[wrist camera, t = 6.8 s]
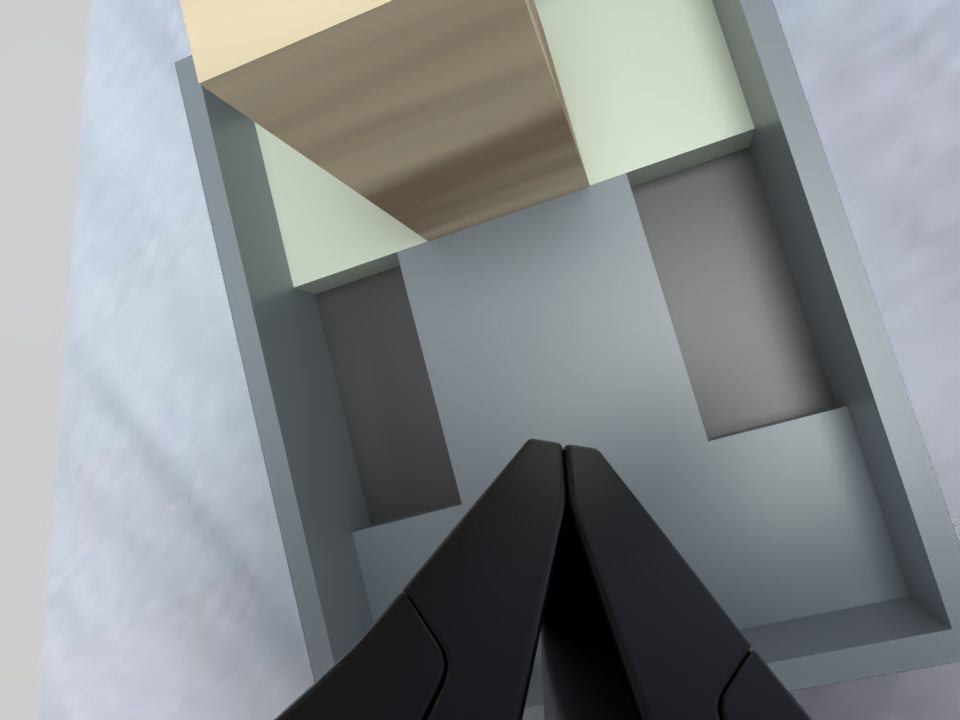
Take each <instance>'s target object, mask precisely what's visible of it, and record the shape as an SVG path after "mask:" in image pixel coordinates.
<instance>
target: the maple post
mask: <svg viewBox="0 0 960 720" xmlns="http://www.w3.org/2000/svg"><path fill="white" fill-rule="evenodd" d="M180 4H181V9H182V13H183V17H184V22H185V26H186V30H187V35H188V39H189V44H190V48H191V52H192V57H193V61H194V65H195V70H196V74H197V78H198V83H199V84H200V85H201V86H203V87H204V88H206V89H207V90H209V91H210V92H212V93H213V94H215V95H216V96H217V97H219V98H220V99H222V100H223V101H225V102H226V103H228V104H229V105H231V106H232V107H233V108H235V109H236V110H238V111H239V112H241V113H242V114H244V115H245V116H247V117H248V118H249V119H251V120H252V121H254V122H255V123H257V124H258V125H260V126H261V127H263V128H264V129H265V130H267V131H268V132H270V133H271V134H273V135H274V136H276V137H277V138H279V139H280V140H281V141H283V142H284V143H286V144H287V145H289V146H290V147H292V148H293V149H295V150H296V151H298V152H299V153H300V154H302V155H303V156H305V157H306V158H308V159H309V160H311V161H312V162H314V163H315V164H316V165H318V166H319V167H321V168H322V169H324V170H325V171H327V172H328V173H330V174H331V175H332V176H334V177H335V178H337V179H338V180H340V181H341V182H343V183H344V184H346V185H347V186H348V187H350V188H351V189H353V190H354V191H356V192H357V193H359V194H360V195H362V196H363V197H364V198H366V199H367V200H369V201H370V202H372V203H373V204H375V205H376V206H378V207H379V208H380V209H382V210H383V211H385V212H386V213H388V214H389V215H391V216H392V217H394V218H395V219H396V220H398V221H399V222H401V223H402V224H404V225H405V226H407V227H408V228H410V229H411V230H412V231H414V232H415V233H417V234H418V235H420V236H421V237H423V238H424V239H426V240H427V241H429V242H430V241H432V240H435V239H438V238H441V237H444V236H447V235H450V234H453V233H456V232H459V231H461V230H464V229H467V228H470V227H473V226H476V225H479V224H482V223H485V222H488V221H490V220H493V219H496V218H499V217H502V216H505V215H508V214H511V213H514V212H517V211H519V210H522V209H525V208H528V207H531V206H534V205H537V204H540V203H543V202H546V201H548V200H551V199H554V198H557V197H560V196H563V195H566V194H569V193H572V192H575V191H577V190H580V189H583V188H586V187H589V186H590V184H589V180H588V177H587V174H586V170H585V167H584V164H583V160H582V157H581V154H580V150H579V147H578V144H577V140H576V137H575V134H574V130H573V127H572V124H571V120H570V117H569V113H568V110H567V107H566V103H565V100H564V97H563V93H562V90H561V87H560V83H559V80H558V77H557V73H556V70H555V67H554V63H553V60H552V56H551V53H550V50H549V46H548V43H547V40H546V36H545V33H544V30H543V26H542V23H541V20H540V17H539V14H538V11H537V8H536V5H535V2H534V0H180Z"/></svg>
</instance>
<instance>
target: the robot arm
mask: <svg viewBox="0 0 960 720" xmlns="http://www.w3.org/2000/svg"><path fill="white" fill-rule="evenodd" d="M540 632H541V656H542V677H543V698H544V719H545V720H812V719H811V717H810V716H809V715H808V714H807V712H806V711H805V710H804V709H803V708H802V706H801V705H800V704H799V703H798V702H797V700H796V699H795V698H794V697H793V696H792V694H791V693H790V692H789V691H788V689H787V688H786V687H785V686H784V685H783V683H782V682H781V681H780V680H779V678H778V677H777V676H776V675H775V673H774V672H773V671H772V670H771V668H770V667H769V666H768V664H767V663H766V662H765V661H764V659H763V658H762V657H761V656H760V654H759V653H758V652H757V651H754V650H753V651H751V650H752V645H751V643H750V642H749V641H748V639H747V638H746V637H745V636H744V634H743V633H742V632H741V631H740V629H739V628H738V627H737V625H736V624H735V623H734V622H733V620H732V619H731V618H730V616H729V615H728V614H727V613H726V611H725V610H724V609H723V608H722V606H721V605H720V604H719V602H718V601H717V600H716V599H715V597H714V596H713V595H712V594H711V592H710V591H709V590H708V588H707V587H706V586H705V585H704V583H703V582H702V581H701V580H700V578H699V577H698V576H697V574H696V573H695V572H694V571H693V569H692V568H691V567H690V566H689V564H688V563H687V562H686V560H685V559H684V558H683V557H682V555H681V554H680V553H679V551H678V550H677V549H676V548H675V546H674V545H673V544H672V543H671V541H670V540H669V539H668V537H667V536H666V535H665V534H664V532H663V531H662V530H661V529H660V527H659V526H658V525H657V523H656V522H655V521H654V520H653V518H652V517H651V516H650V515H649V513H648V512H647V511H646V509H645V508H644V507H643V506H642V504H641V503H640V502H639V500H638V499H637V498H636V497H635V495H634V494H633V493H632V492H631V490H630V489H629V488H628V486H627V485H626V484H625V483H624V481H623V480H622V479H621V478H620V476H619V475H618V474H617V472H616V471H615V470H614V469H613V467H612V466H611V465H610V464H609V462H608V461H607V460H606V458H605V457H604V456H603V455H602V453H601V452H600V451H599V450H597V449H595V448H590V447H584V446H577V445H571V444H569V445H565V446H564V448H563V447H562V445H561V444H560V443H557V442H551V441H545V440H539V439H529V440H528V441H526V442H525V444H524V445H523V446H522V447H521V448H520V450H519V451H518V452H517V453H516V454H515V456H514V457H513V458H512V459H511V460H510V462H509V463H508V464H507V465H506V466H505V468H504V469H503V470H502V471H501V472H500V474H499V475H498V476H497V477H496V478H495V480H494V481H493V482H492V483H491V484H490V486H489V487H488V488H487V489H486V490H485V491H484V493H483V494H482V495H481V496H480V497H479V499H478V500H477V501H476V502H475V503H474V505H473V506H472V507H471V508H470V509H469V511H468V512H467V513H466V514H465V515H464V517H463V518H462V519H461V520H460V521H459V523H458V524H457V525H456V526H455V527H454V529H453V530H452V531H451V532H450V533H449V535H448V536H447V537H446V538H445V539H444V540H443V542H442V543H441V544H440V545H439V546H438V548H437V549H436V550H435V551H434V552H433V554H432V555H431V556H430V557H429V558H428V560H427V561H426V562H425V563H424V564H423V566H422V567H421V568H420V569H419V570H418V572H417V573H416V574H415V575H414V576H413V578H412V579H411V580H410V581H409V582H408V584H407V585H406V586H405V587H404V588H403V590H402V593H399V594H398V595H397V596H396V597H395V599H394V600H393V601H392V602H391V603H390V605H389V606H388V607H387V608H386V609H385V610H384V612H383V613H382V614H381V615H380V616H379V618H378V619H377V620H376V621H375V622H374V623H373V624H372V625H371V626H370V627H369V629H368V630H367V631H366V632H365V633H364V634H363V635H362V636H361V637H360V639H359V640H358V641H357V642H356V643H355V644H354V645H353V646H352V647H351V648H350V650H348V651H347V652H346V653H345V654H344V655H343V656H342V657H341V658H340V659H339V660H338V661H337V662H336V663H335V664H334V665H333V666H332V667H331V668H330V669H329V670H328V671H327V672H326V673H324V674H323V675H322V676H321V677H320V678H319V679H318V680H317V681H316V682H315V683H314V684H313V685H312V686H311V687H310V688H309V689H308V690H306V691H305V692H304V693H303V694H302V695H301V696H300V697H299V698H298V699H296V700H295V701H294V702H293V703H292V704H291V705H290V706H289V707H288V708H286V709H285V710H284V711H283V712H282V713H281V714H280V715H279V716H278V717H277V718H275V719H274V720H522V719H523V714H524V709H525V704H526V699H527V695H528V690H529V685H530V680H531V675H532V671H533V666H534V661H535V656H536V651H537V647H538V642H539V637H540Z"/></svg>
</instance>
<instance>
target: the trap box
mask: <svg viewBox="0 0 960 720" xmlns="http://www.w3.org/2000/svg"><path fill="white" fill-rule="evenodd" d="M534 2H535V5H536V8H537V11H538V14H539V17H540V20H541V23H542V26H543V30H544V33H545V36H546V40H547V43H548V46H549V50H550V53H551V56H552V60H553V63H554V67H555V70H556V73H557V77H558V80H559V83H560V87H561V90H562V93H563V97H564V100H565V103H566V107H567V110H568V113H569V117H570V120H571V124H572V127H573V130H574V134H575V137H576V140H577V144H578V147H579V150H580V154H581V157H582V160H583V164H584V167H585V170H586V174H587V177H588V180H589V184H590V186H589V187H586V188H583V189H580V190H577V191H575V192H572V193H569V194H566V195H563V196H560V197H557V198H554V199H551V200H548V201H546V202H543V203H540V204H537V205H534V206H531V207H528V208H525V209H522V210H519V211H517V212H514V213H511V214H508V215H505V216H502V217H499V218H496V219H493V220H490V221H488V222H485V223H482V224H479V225H476V226H473V227H470V228H467V229H464V230H461V231H459V232H456V233H453V234H450V235H447V236H444V237H441V238H438V239H435V240H432V241H430V242H429V241H427V240H426V239H424V238H423V237H421V236H420V235H418V234H417V233H415V232H414V231H412V230H411V229H410V228H408V227H407V226H405V225H404V224H402V223H401V222H399V221H398V220H396V219H395V218H394V217H392V216H391V215H389V214H388V213H386V212H385V211H383V210H382V209H380V208H379V207H378V206H376V205H375V204H373V203H372V202H370V201H369V200H367V199H366V198H364V197H363V196H362V195H360V194H359V193H357V192H356V191H354V190H353V189H351V188H350V187H348V186H347V185H346V184H344V183H343V182H341V181H340V180H338V179H337V178H335V177H334V176H332V175H331V174H330V173H328V172H327V171H325V170H324V169H322V168H321V167H319V166H318V165H316V164H315V163H314V162H312V161H311V160H309V159H308V158H306V157H305V156H303V155H302V154H300V153H299V152H298V151H296V150H295V149H293V148H292V147H290V146H289V145H287V144H286V143H284V142H283V141H281V140H280V139H279V138H277V137H276V136H274V135H273V134H271V133H270V132H268V131H267V130H265V129H264V128H263V127H261V126H260V125H258V124H257V123H255V122H254V121H252V120H251V119H249V118H248V117H247V116H245V115H244V114H242V113H241V112H239V111H238V110H236V109H235V108H233V107H232V106H231V105H229V104H228V103H226V102H225V101H223V100H222V99H220V98H219V97H217V96H216V95H215V94H213V93H212V92H210V91H209V90H207V89H206V88H204V87H203V86H201V85H200V84H199V83H198V78H197V74H196V70H195V65H194V61H193V57H192V55H191V56H189V57H186V58H184V59H182V60H180V61H177V62H175V67H176V71H177V75H178V80H179V84H180V89H181V93H182V98H183V102H184V106H185V111H186V115H187V120H188V124H189V129H190V133H191V137H192V142H193V146H194V151H195V155H196V160H197V164H198V168H199V173H200V177H201V182H202V186H203V190H204V195H205V199H206V204H207V208H208V213H209V217H210V221H211V226H212V230H213V235H214V239H215V244H216V248H217V252H218V257H219V261H220V266H221V270H222V275H223V279H224V283H225V288H226V292H227V297H228V301H229V306H230V310H231V314H232V319H233V323H234V328H235V332H236V337H237V341H238V345H239V350H240V354H241V359H242V363H243V368H244V372H245V376H246V381H247V385H248V390H249V394H250V399H251V403H252V407H253V412H254V416H255V421H256V425H257V430H258V434H259V438H260V443H261V447H262V452H263V456H264V461H265V465H266V469H267V474H268V478H269V483H270V487H271V492H272V496H273V500H274V505H275V509H276V514H277V518H278V523H279V527H280V531H281V536H282V540H283V545H284V549H285V553H286V558H287V562H288V567H289V571H290V576H291V580H292V584H293V589H294V593H295V598H296V602H297V607H298V611H299V615H300V620H301V624H302V629H303V633H304V638H305V642H306V646H307V651H308V655H309V660H310V664H311V669H312V673H313V677H314V682H316V681H317V680H318V679H319V678H320V677H321V676H322V675H323V674H324V673H326V672H327V671H328V670H329V669H330V668H331V667H332V666H333V665H334V664H335V663H336V662H337V661H338V660H339V659H340V658H341V657H342V656H343V655H344V654H345V653H346V652H347V651H348V650H350V648H351V647H352V646H353V645H354V644H355V643H356V642H357V641H358V640H359V639H360V637H361V636H362V635H363V634H364V633H365V632H366V631H367V630H368V629H369V627H370V626H371V625H372V624H373V623H374V622H375V621H376V620H377V619H378V618H379V616H380V615H381V614H382V613H383V612H384V610H385V609H386V608H387V607H388V606H389V605H390V603H391V602H392V601H393V600H394V599H395V597H396V596H397V595H398V594H399V593H402V590H403V588H404V587H405V586H406V585H407V584H408V582H409V581H410V580H411V579H412V578H413V576H414V575H415V574H416V573H417V572H418V570H419V569H420V568H421V567H422V566H423V564H424V563H425V562H426V561H427V560H428V558H429V557H430V556H431V555H432V554H433V552H434V551H435V550H436V549H437V548H438V546H439V545H440V544H441V543H442V542H443V540H444V539H445V538H446V537H447V536H448V535H449V533H450V532H451V531H452V530H453V529H454V527H455V526H456V525H457V524H458V523H459V521H460V520H461V519H462V518H463V517H464V515H465V514H466V513H467V512H468V511H469V509H470V508H471V507H472V506H473V505H474V503H475V502H476V501H477V500H478V499H479V497H480V496H481V495H482V494H483V493H484V491H485V490H486V489H487V488H488V487H489V486H490V484H491V483H492V482H493V481H494V480H495V478H496V477H497V476H498V475H499V474H500V472H501V471H502V470H503V469H504V468H505V466H506V465H507V464H508V463H509V462H510V460H511V459H512V458H513V457H514V456H515V454H516V453H517V452H518V451H519V450H520V448H521V447H522V446H523V445H524V444H525V442H526V441H528V440H529V439H539V440H545V441H551V442H557V443H560V444H561V445H562V447H563V448H564V446H565V445H569V444H571V445H577V446H584V447H590V448H595V449H597V450H599V451H600V452H601V453H602V455H603V456H604V457H605V458H606V460H607V461H608V462H609V464H610V465H611V466H612V467H613V469H614V470H615V471H616V472H617V474H618V475H619V476H620V478H621V479H622V480H623V481H624V483H625V484H626V485H627V486H628V488H629V489H630V490H631V492H632V493H633V494H634V495H635V497H636V498H637V499H638V500H639V502H640V503H641V504H642V506H643V507H644V508H645V509H646V511H647V512H648V513H649V515H650V516H651V517H652V518H653V520H654V521H655V522H656V523H657V525H658V526H659V527H660V529H661V530H662V531H663V532H664V534H665V535H666V536H667V537H668V539H669V540H670V541H671V543H672V544H673V545H674V546H675V548H676V549H677V550H678V551H679V553H680V554H681V555H682V557H683V558H684V559H685V560H686V562H687V563H688V564H689V566H690V567H691V568H692V569H693V571H694V572H695V573H696V574H697V576H698V577H699V578H700V580H701V581H702V582H703V583H704V585H705V586H706V587H707V588H708V590H709V591H710V592H711V594H712V595H713V596H714V597H715V599H716V600H717V601H718V602H719V604H720V605H721V606H722V608H723V609H724V610H725V611H726V613H727V614H728V615H729V616H730V618H731V619H732V620H733V622H734V623H735V624H736V625H737V627H738V628H739V629H740V631H741V632H742V633H743V634H744V636H745V637H746V638H747V639H748V641H749V642H750V643H751V645H752V650H751V651H753V650H754V651H757V652H758V653H759V654H760V656H761V657H762V658H763V659H764V661H765V662H766V663H767V664H768V666H769V667H770V668H771V670H772V671H773V672H774V673H775V675H776V676H777V677H778V678H779V680H780V681H781V682H782V683H783V685H784V686H785V687H786V688H787V689H788V691H794V690H800V689H806V688H811V687H817V686H823V685H828V684H834V683H840V682H846V681H851V680H857V679H863V678H869V677H874V676H880V675H886V674H891V673H897V672H903V671H909V670H914V669H920V668H926V667H932V666H937V665H943V664H949V663H954V662H960V544H959V541H958V538H957V535H956V533H955V530H954V527H953V524H952V521H951V518H950V515H949V512H948V509H947V506H946V504H945V501H944V498H943V495H942V492H941V489H940V486H939V483H938V480H937V477H936V474H935V472H934V469H933V466H932V463H931V460H930V457H929V454H928V451H927V448H926V445H925V442H924V440H923V437H922V434H921V431H920V428H919V425H918V422H917V419H916V416H915V413H914V411H913V408H912V405H911V402H910V399H909V396H908V393H907V390H906V387H905V384H904V381H903V379H902V376H901V373H900V370H899V367H898V364H897V361H896V358H895V355H894V352H893V349H892V347H891V344H890V341H889V338H888V335H887V332H886V329H885V326H884V323H883V320H882V318H881V315H880V312H879V309H878V306H877V303H876V300H875V297H874V294H873V291H872V288H871V286H870V283H869V280H868V277H867V274H866V271H865V268H864V265H863V262H862V259H861V256H860V254H859V251H858V248H857V245H856V242H855V239H854V236H853V233H852V230H851V227H850V225H849V222H848V219H847V216H846V213H845V210H844V207H843V204H842V201H841V198H840V195H839V193H838V190H837V187H836V184H835V181H834V178H833V175H832V172H831V169H830V166H829V163H828V161H827V158H826V155H825V152H824V149H823V146H822V143H821V140H820V137H819V134H818V132H817V129H816V126H815V123H814V120H813V117H812V114H811V111H810V108H809V105H808V102H807V100H806V97H805V94H804V91H803V88H802V85H801V82H800V79H799V76H798V73H797V70H796V68H795V65H794V62H793V59H792V56H791V53H790V50H789V47H788V44H787V41H786V39H785V36H784V33H783V30H782V27H781V24H780V21H779V18H778V15H777V12H776V9H775V7H774V4H773V1H772V0H534ZM522 720H545V719H544V698H543V677H542V656H541V632H540V637H539V642H538V647H537V651H536V656H535V661H534V666H533V671H532V675H531V680H530V685H529V690H528V695H527V699H526V704H525V709H524V714H523V719H522Z"/></svg>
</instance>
